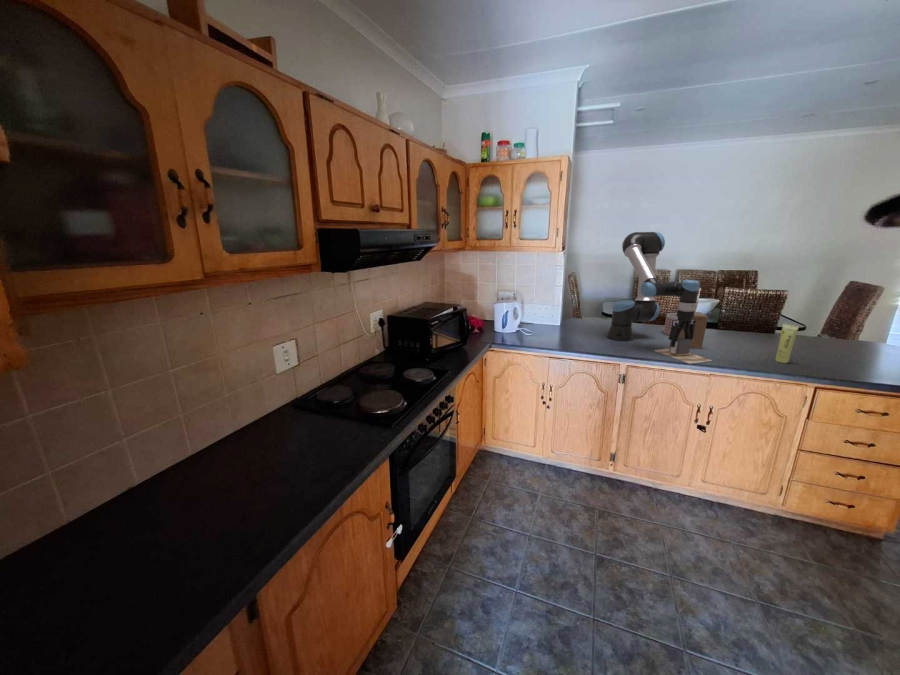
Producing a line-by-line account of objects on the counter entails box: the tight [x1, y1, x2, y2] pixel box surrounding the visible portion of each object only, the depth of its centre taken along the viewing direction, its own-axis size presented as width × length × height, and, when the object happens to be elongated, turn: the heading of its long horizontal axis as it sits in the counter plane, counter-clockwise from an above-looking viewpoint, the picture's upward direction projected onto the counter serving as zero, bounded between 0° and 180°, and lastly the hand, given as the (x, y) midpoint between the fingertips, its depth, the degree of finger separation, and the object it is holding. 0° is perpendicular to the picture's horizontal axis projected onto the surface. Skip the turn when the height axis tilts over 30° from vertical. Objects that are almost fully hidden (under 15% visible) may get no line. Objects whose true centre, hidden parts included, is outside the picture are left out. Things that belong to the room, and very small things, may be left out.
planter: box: [663, 312, 678, 336], centre depth 230 cm, size 14×14×13 cm
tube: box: [775, 323, 800, 364], centre depth 179 cm, size 6×5×20 cm
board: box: [653, 348, 712, 365], centre depth 190 cm, size 22×15×1 cm
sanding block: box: [668, 337, 691, 356], centre depth 190 cm, size 6×7×8 cm
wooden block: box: [678, 311, 709, 350], centre depth 203 cm, size 10×10×20 cm
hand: (678, 351), depth 191 cm, fingers closed on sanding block, 7 cm apart
